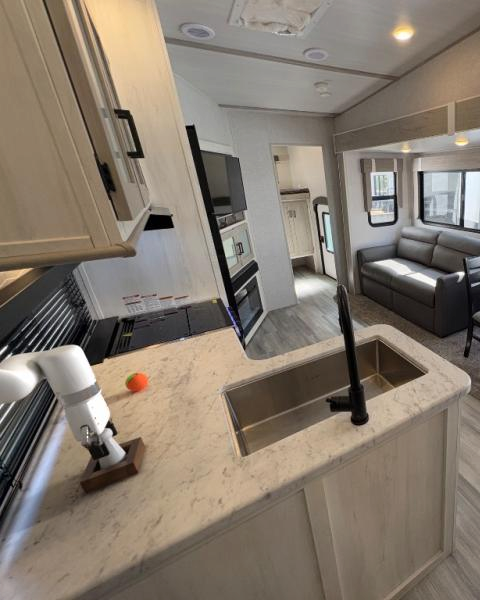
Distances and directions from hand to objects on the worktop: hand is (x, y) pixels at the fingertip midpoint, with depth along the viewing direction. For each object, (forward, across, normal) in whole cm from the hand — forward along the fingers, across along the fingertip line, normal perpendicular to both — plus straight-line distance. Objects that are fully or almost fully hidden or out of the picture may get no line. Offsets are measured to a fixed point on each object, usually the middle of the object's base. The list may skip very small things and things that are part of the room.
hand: (106, 446), depth 83 cm
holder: (+8, 0, 0) cm, 8 cm away
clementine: (+8, -45, -2) cm, 46 cm away
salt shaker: (+8, 0, 0) cm, 8 cm away
